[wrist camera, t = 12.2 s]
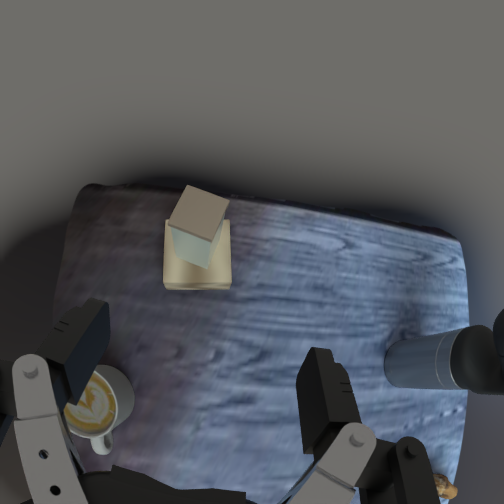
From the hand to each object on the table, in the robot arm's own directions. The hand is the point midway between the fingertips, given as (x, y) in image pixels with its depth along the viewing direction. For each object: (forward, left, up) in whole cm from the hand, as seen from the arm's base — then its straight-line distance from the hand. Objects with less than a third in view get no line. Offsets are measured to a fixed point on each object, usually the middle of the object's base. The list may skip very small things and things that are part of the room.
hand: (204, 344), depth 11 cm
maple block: (+4, -15, -36) cm, 39 cm away
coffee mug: (+14, +12, -36) cm, 41 cm away
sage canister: (+4, -15, -31) cm, 35 cm away
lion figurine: (-50, +25, -36) cm, 67 cm away
